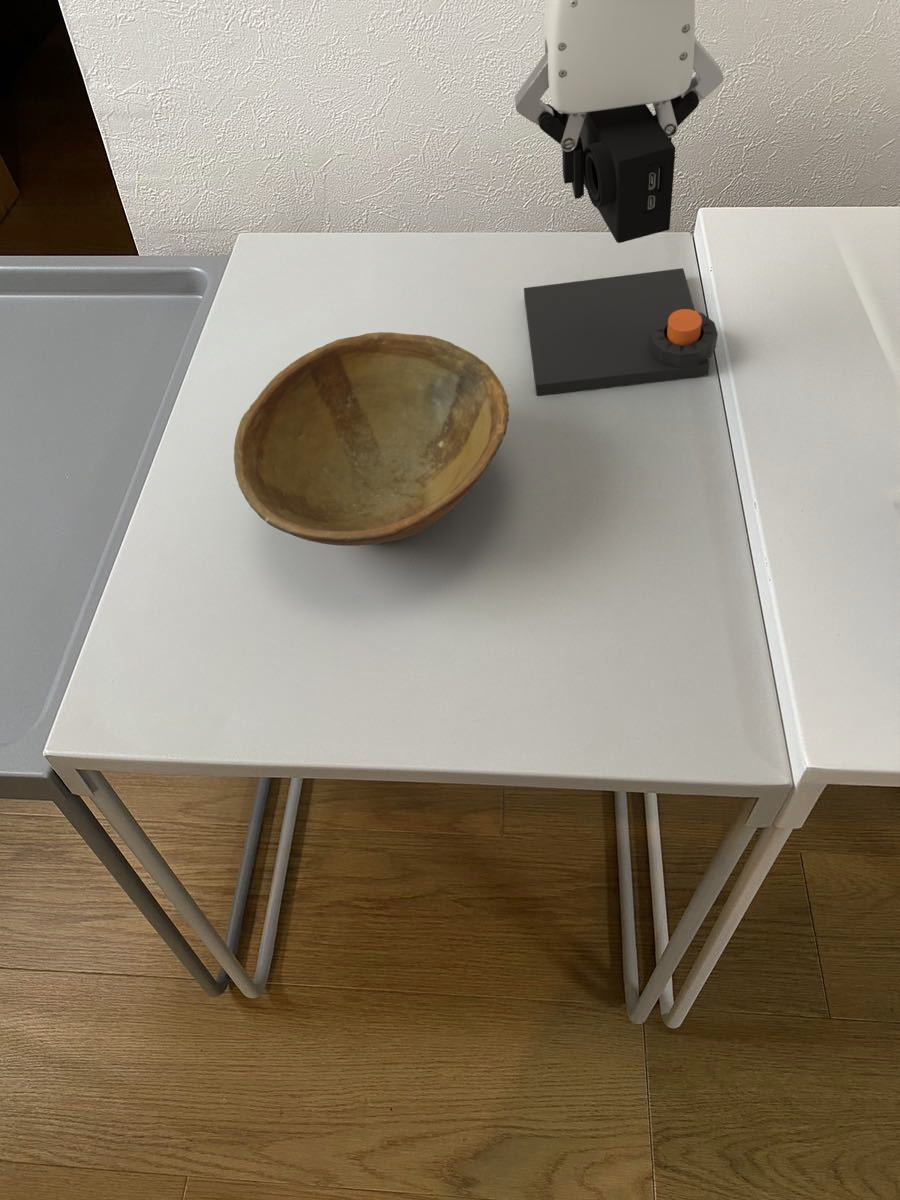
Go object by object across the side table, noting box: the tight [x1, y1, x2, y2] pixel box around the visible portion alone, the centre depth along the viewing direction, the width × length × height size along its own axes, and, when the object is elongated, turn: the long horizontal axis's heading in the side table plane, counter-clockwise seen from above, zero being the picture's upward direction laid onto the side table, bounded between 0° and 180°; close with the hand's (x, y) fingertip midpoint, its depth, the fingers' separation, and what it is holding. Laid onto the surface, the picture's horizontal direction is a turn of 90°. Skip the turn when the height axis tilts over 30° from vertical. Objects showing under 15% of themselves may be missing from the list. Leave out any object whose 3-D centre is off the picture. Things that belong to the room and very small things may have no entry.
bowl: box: [233, 331, 510, 547], centre depth 79 cm, size 22×23×10 cm
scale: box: [523, 267, 719, 396], centre depth 90 cm, size 17×14×3 cm
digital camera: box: [580, 104, 676, 244], centre depth 72 cm, size 10×5×7 cm, turn 13°
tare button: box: [667, 309, 702, 346], centre depth 85 cm, size 3×3×2 cm
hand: (615, 180), depth 74 cm, fingers closed on digital camera, 5 cm apart
